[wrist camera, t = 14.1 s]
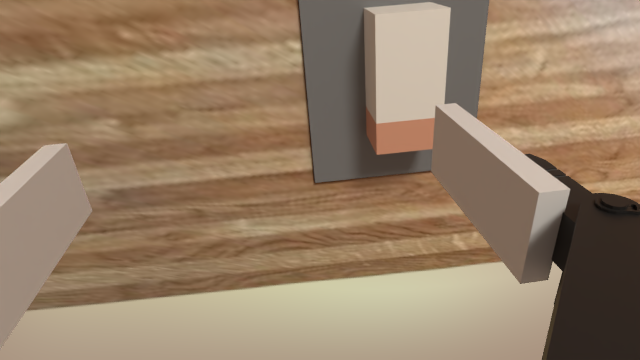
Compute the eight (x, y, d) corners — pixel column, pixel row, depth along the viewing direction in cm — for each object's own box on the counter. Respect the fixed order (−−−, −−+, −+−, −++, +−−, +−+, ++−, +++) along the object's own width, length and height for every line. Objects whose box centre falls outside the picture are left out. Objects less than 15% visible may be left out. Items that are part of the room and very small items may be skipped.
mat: (314, 180, 45) (315, 182, 45) (293, -53, 35) (293, -53, 35) (469, 164, 46) (471, 166, 46) (493, -70, 36) (496, -70, 36)
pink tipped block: (363, 7, 37) (375, 14, 33) (430, 2, 38) (450, 7, 33) (366, 134, 43) (376, 154, 39) (424, 128, 43) (441, 148, 39)
